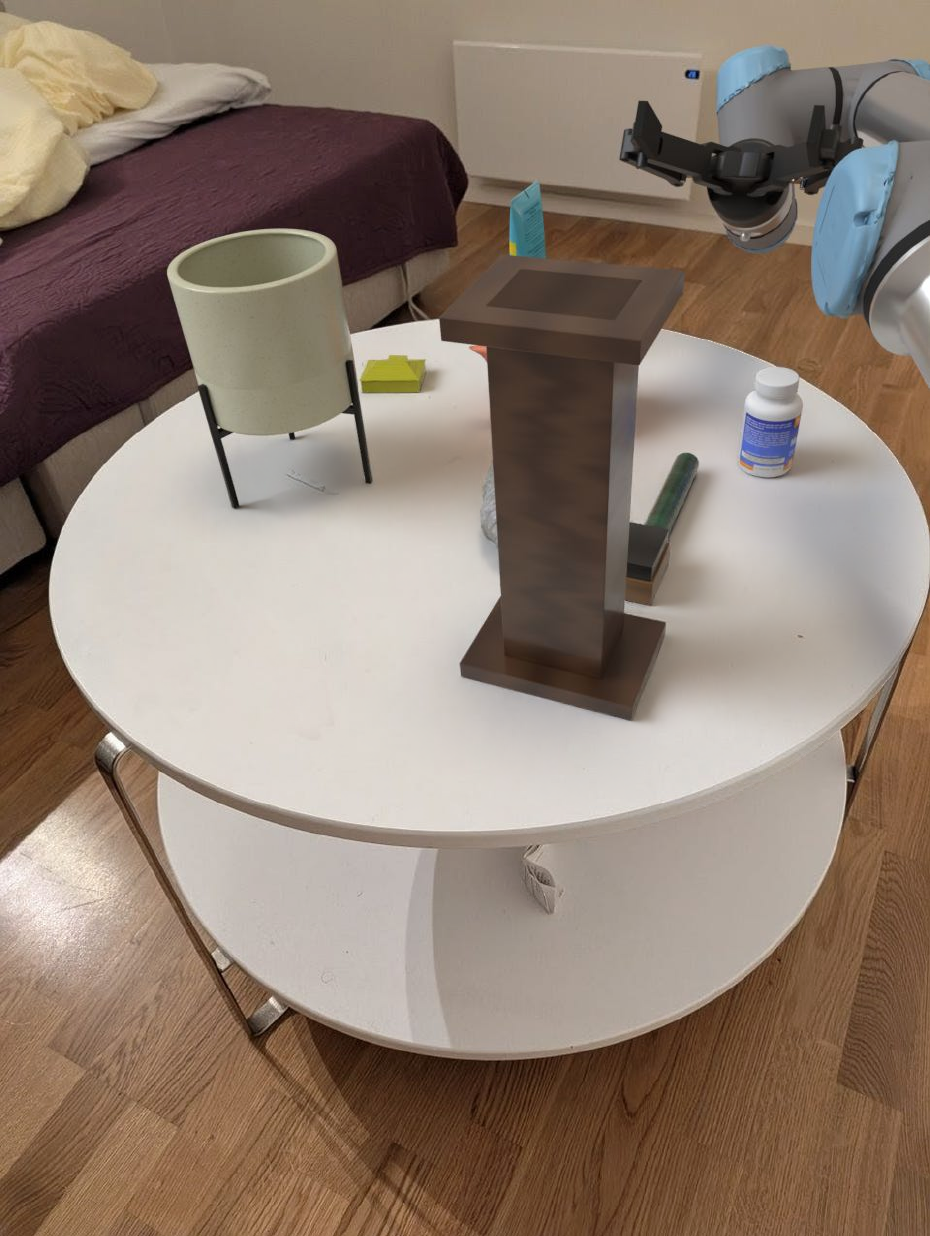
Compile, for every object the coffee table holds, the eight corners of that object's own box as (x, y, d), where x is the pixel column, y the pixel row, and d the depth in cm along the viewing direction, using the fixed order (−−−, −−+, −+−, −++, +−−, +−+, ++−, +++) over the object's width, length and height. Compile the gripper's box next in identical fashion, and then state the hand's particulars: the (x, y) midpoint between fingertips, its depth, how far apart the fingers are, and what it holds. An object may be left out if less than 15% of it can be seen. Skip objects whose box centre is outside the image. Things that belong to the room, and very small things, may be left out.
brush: (666, 469, 94) (669, 435, 91) (706, 476, 92) (710, 441, 90) (605, 596, 80) (607, 559, 77) (650, 605, 78) (653, 569, 76)
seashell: (468, 553, 81) (484, 463, 78) (477, 517, 94) (491, 439, 91) (539, 566, 81) (558, 477, 78) (539, 529, 94) (555, 451, 91)
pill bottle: (797, 477, 91) (815, 388, 85) (742, 480, 91) (756, 391, 85) (784, 448, 95) (800, 361, 89) (731, 451, 95) (743, 364, 89)
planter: (343, 525, 90) (300, 295, 75) (202, 507, 94) (133, 286, 79) (397, 445, 101) (368, 230, 86) (267, 432, 105) (217, 224, 90)
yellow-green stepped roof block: (347, 399, 110) (343, 377, 108) (362, 363, 116) (359, 342, 115) (430, 398, 108) (427, 376, 106) (440, 362, 115) (438, 341, 113)
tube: (522, 336, 119) (516, 178, 107) (557, 339, 118) (556, 180, 105) (502, 361, 114) (494, 199, 102) (539, 365, 113) (536, 202, 100)
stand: (664, 635, 75) (701, 271, 56) (631, 721, 69) (659, 342, 49) (506, 599, 80) (487, 252, 60) (460, 676, 74) (422, 315, 54)
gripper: (874, 238, 88) (882, 181, 69) (621, 220, 97) (565, 165, 77) (894, 154, 86) (908, 71, 67) (634, 143, 95) (580, 67, 76)
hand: (724, 121), depth 72 cm, fingers open, 13 cm apart
